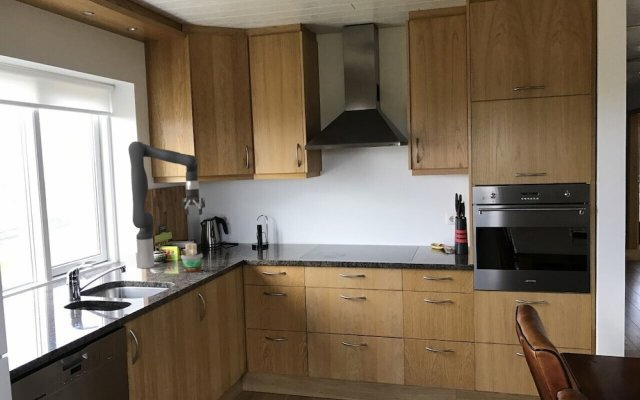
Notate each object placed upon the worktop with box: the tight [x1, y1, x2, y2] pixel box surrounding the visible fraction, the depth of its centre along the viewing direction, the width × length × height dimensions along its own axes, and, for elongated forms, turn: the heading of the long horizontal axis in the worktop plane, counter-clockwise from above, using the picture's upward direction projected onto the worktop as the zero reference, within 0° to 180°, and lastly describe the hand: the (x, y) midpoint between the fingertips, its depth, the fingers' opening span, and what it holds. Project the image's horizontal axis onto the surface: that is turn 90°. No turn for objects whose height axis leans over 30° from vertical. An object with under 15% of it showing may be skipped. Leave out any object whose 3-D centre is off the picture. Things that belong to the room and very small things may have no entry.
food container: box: [180, 252, 204, 274], centre depth 297 cm, size 12×6×10 cm, turn 105°
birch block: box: [185, 242, 198, 256], centre depth 297 cm, size 4×4×6 cm
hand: (193, 215), depth 317 cm, fingers open, 8 cm apart
